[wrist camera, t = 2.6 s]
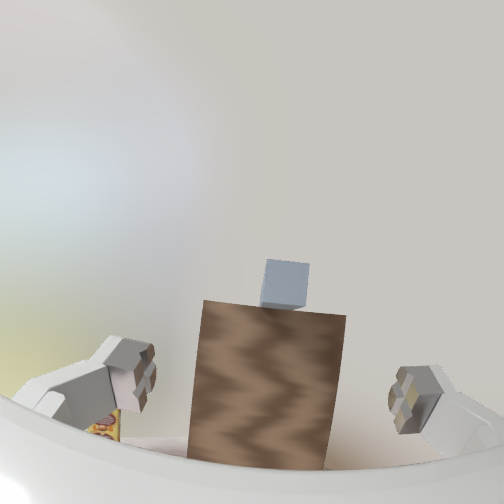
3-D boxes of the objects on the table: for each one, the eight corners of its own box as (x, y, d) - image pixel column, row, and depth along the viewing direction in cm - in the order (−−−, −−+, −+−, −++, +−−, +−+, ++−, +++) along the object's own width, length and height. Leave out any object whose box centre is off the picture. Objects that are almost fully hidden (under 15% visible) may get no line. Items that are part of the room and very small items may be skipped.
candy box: (120, 484, 31) (122, 379, 34) (88, 479, 29) (88, 373, 32) (119, 456, 39) (123, 365, 42) (93, 452, 37) (95, 360, 41)
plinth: (182, 520, 26) (203, 300, 31) (201, 472, 40) (219, 306, 45) (307, 532, 25) (346, 315, 31) (294, 482, 39) (319, 317, 44)
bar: (262, 301, 22) (267, 258, 23) (258, 311, 48) (261, 291, 48) (305, 306, 22) (309, 263, 23) (279, 313, 47) (281, 293, 48)
